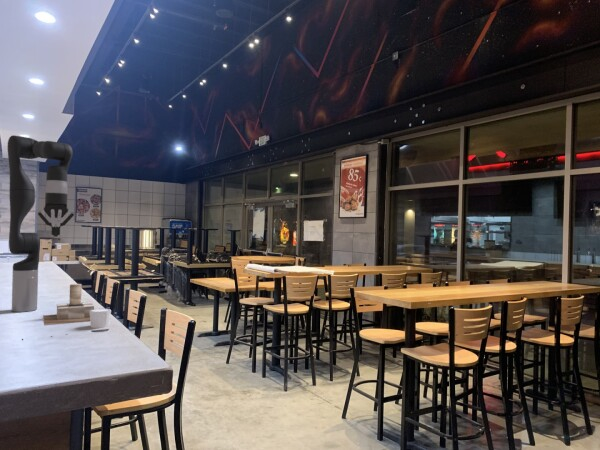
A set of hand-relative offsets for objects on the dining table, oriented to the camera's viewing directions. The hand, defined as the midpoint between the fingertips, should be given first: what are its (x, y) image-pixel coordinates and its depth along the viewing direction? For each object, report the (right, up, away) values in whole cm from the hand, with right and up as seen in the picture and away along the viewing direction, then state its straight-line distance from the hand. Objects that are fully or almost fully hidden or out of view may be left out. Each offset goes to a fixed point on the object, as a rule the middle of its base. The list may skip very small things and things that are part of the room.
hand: (55, 236), depth 169 cm
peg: (+9, -31, -3) cm, 32 cm away
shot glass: (+27, -32, -20) cm, 47 cm away
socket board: (+10, -32, -7) cm, 34 cm away
